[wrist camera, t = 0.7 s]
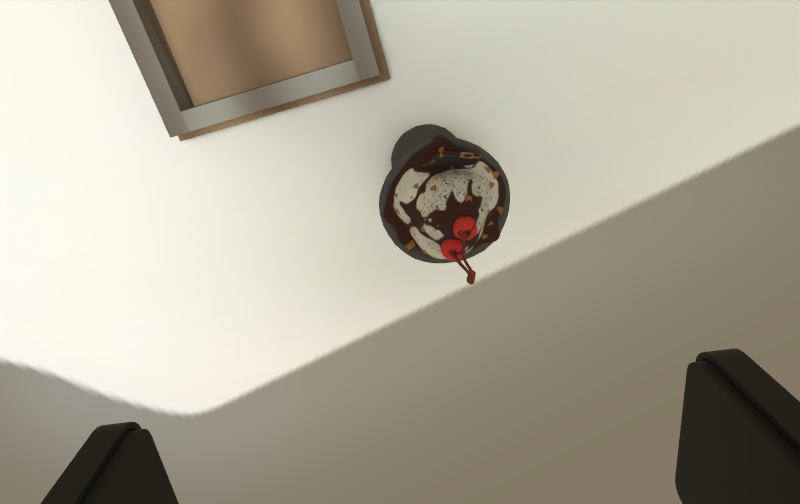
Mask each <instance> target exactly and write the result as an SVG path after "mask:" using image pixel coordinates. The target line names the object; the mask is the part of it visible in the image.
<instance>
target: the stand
mask: <svg viewBox="0 0 800 504" xmlns="http://www.w3.org/2000/svg"><path fill="white" fill-rule="evenodd" d="M109 2H110V4H111V7H112V9H113V11H114V13H115V16H116V18H117V20H118V22H119V24H120V27H121V29H122V31H123V33H124V35H125V38H126V40H127V42H128V44H129V47H130V49H131V51H132V53H133V55H134V58H135V60H136V62H137V64H138V67H139V69H140V71H141V73H142V75H143V78H144V80H145V82H146V84H147V87H148V89H149V91H150V93H151V95H152V98H153V100H154V102H155V104H156V107H157V109H158V111H159V113H160V115H161V118H162V120H163V122H164V124H165V127H166V129H167V131H168V133H169V135H170V138H171V137H174V136H177V135H178V137H179V139H180V141H183V140H186V139H190V138H193V137H196V136H200V135H203V134H206V133H210V132H213V131H216V130H220V129H223V128H227V127H230V126H233V125H237V124H240V123H243V122H247V121H250V120H253V119H257V118H260V117H263V116H267V115H270V114H273V113H277V112H280V111H283V110H287V109H290V108H293V107H297V106H300V105H304V104H307V103H310V102H314V101H317V100H320V99H324V98H327V97H330V96H334V95H337V94H340V93H344V92H347V91H350V90H354V89H357V88H360V87H364V86H367V85H370V84H374V83H377V82H381V81H384V80H387V79H390V76H389V72H388V69H387V65H386V61H385V58H384V54H383V50H382V47H381V43H380V40H379V36H378V32H377V29H376V25H375V21H374V18H373V14H372V10H371V7H370V3H369V0H109Z"/></svg>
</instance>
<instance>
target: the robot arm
mask: <svg viewBox="0 0 800 504" xmlns="http://www.w3.org/2000/svg"><path fill="white" fill-rule="evenodd" d="M675 483H676V489H677V492H678V495H679V497H680V500H681V501H682V503H683V504H800V402H799V401H798V400H797V399H796V398H795V397H794V396H792V395H791V394H790V393H789V392H788V391H787V390H786V389H785V388H783V387H782V386H781V385H780V384H779V383H778V382H776V381H775V380H774V379H773V378H772V377H771V376H770V375H769V374H768V373H767V372H765V371H764V370H763V369H762V368H761V367H760V366H759V365H757V364H756V363H755V362H754V361H753V360H752V359H751V358H749V357H748V356H747V355H746V354H745V353H744V352H742V351H741V350H739V349H726V350H718V351H710V352H703V353H700V354H699V355H698V356H697V358H696V362H692V363H690V364H689V366H688V369H687V375H686V384H685V393H684V403H683V412H682V422H681V430H680V439H679V449H678V458H677V468H676V476H675ZM41 504H179V503H178V501H177V499H176V496H175V493H174V491H173V488H172V486H171V483H170V481H169V478H168V476H167V473H166V471H165V468H164V466H163V463H162V461H161V458H160V456H159V453H158V451H157V448H156V446H155V443H154V441H153V438H152V436H151V434H150V432H149V431H148V430H147V429H141V427H140V426H139V425H138V424H137V423H136V422H126V423H118V424H110V425H102V426H100V427H97V428H96V429H95V430H94V431H93V432H92V434H91V435H90V436H89V438H88V439H87V441H86V442H85V443H84V445H83V446H82V447H81V449H80V450H79V452H78V453H77V454H76V456H75V457H74V459H73V460H72V461H71V463H70V464H69V465H68V467H67V468H66V470H65V471H64V472H63V474H62V475H61V477H60V478H59V479H58V480H57V482H56V483H55V485H54V486H53V487H52V489H51V490H50V491H49V493H48V494H47V496H46V497H45V498H44V500H43V501H42V502H41Z"/></svg>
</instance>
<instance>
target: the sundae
mask: <svg viewBox="0 0 800 504" xmlns="http://www.w3.org/2000/svg"><path fill="white" fill-rule="evenodd" d="M391 162H392V169H391V171H390V172H389V174H388V175H387V177H386V179H385V182H384V184H383V187H382V190H381V193H380V200H379V208H380V216H381V219H382V222H383V226H384V227H385V229H386V231H387V233H388V235H389V236H390V238H391V239H392V240H393V242H394V243H395V245H396V246H398V247H399V248H400V249H401V250H402V251H404V252H405V253H406V254H408V255H410V256H411V257H413V258H414V259H418V260H421V261H424V262H430V263H449V262H456V261H457V263H458V264H459V265H460V266H461V267H462V268H463V269H464V270H465V271H466V272H467V274H468V276H467V282H468V283H469V284H473V283H474V280H475V275H476V273H475V271H473V270H472V269H471V267H470V266H469V264H468V263H467V261H466V259H468V258H470V257H473V256H475V255H477V254H479V253H480V252H482V251H484V250H485V249H486V248H487V247H488V246H489V245H491V244H492V243H493V242H494V241H496V240H497V239H498V238H499V236H500V233H501V231H502V228H503V226H504V224H505V221H506V218H507V215H508V212H509V204H510V190H509V184H508V180H507V178H506V176H505V173H504V171H503V170H502V168H501V166H500V165H499V163H498V162H497V161H496V160H495V159H494V158H493V157H492V156H491V155H490V154H489V153H487V152H486V151H485V150H483V149H482V148H481V147H479V146H477V145H475V144H472V143H470V142H468V141H465V140H461V139H458V138H456V137H455V136H454V135H453V134H452V133H451V132H449V131H448V130H446V129H445V128H442V127H440V126H436V125H421V126H416V127H414V128H412V129H410V130H409V131H407V132H406V133H404V134H403V135H402V136H401V137H400V139H399V140H398V141H397V143H396V144H395V147H394V150H393V153H392V157H391ZM461 260H464V262H465V264H466V266H467V268H468V269H469V271H468V270H467V268H466V267H465V266H464V265H463V264H462V263H461Z"/></svg>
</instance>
